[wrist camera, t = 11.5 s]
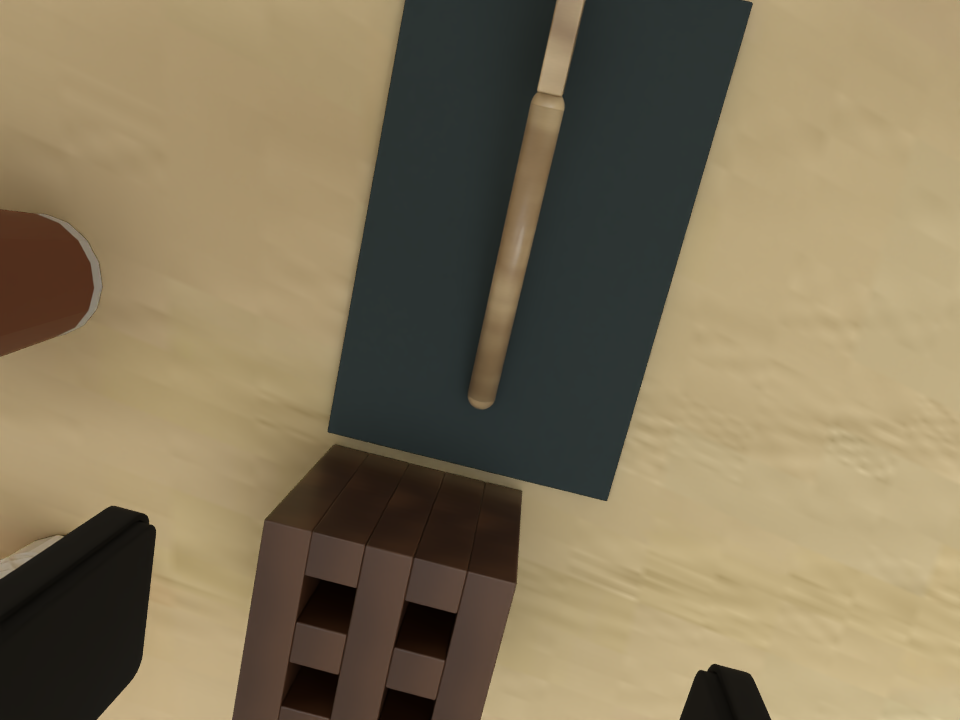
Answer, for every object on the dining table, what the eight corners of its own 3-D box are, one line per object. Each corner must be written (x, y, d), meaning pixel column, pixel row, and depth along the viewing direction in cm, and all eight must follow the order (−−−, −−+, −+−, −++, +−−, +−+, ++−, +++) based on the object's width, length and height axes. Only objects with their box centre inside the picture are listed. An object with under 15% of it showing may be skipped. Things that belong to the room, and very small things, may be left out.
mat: (749, 6, 28) (753, 2, 28) (605, 496, 34) (607, 501, 33) (420, -65, 29) (417, -71, 28) (330, 428, 34) (327, 432, 34)
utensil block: (522, 490, 34) (517, 583, 25) (479, 656, 37) (460, 794, 28) (333, 443, 35) (263, 519, 26) (302, 611, 37) (229, 732, 28)
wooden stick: (499, 381, 35) (598, -35, 27) (488, 425, 31) (604, -59, 23) (474, 375, 35) (566, -41, 27) (460, 418, 31) (565, -67, 23)
